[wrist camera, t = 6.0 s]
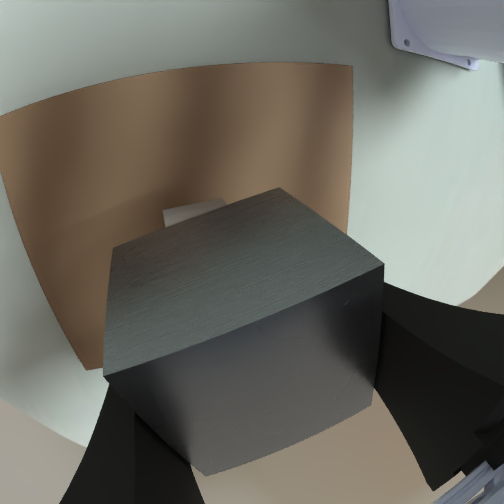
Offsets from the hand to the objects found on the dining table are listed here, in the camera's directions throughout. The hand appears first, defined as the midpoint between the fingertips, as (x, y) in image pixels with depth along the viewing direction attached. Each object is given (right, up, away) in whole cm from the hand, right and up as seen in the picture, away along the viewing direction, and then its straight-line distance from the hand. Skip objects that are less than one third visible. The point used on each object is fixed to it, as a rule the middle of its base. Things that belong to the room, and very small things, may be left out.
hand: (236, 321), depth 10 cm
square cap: (-1, +1, +1) cm, 2 cm away
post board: (-2, +4, +6) cm, 8 cm away
